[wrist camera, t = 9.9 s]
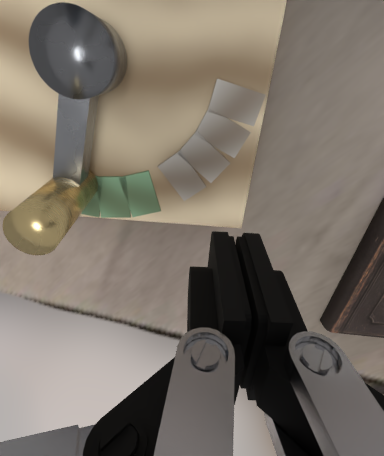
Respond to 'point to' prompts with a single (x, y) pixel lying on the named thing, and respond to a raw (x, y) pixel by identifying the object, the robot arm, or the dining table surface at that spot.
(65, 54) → the lever
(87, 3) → the dial board
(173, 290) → the dining table surface
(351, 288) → the hardcover book
